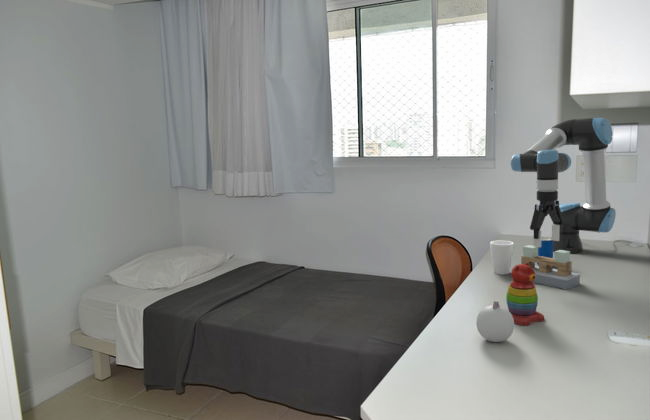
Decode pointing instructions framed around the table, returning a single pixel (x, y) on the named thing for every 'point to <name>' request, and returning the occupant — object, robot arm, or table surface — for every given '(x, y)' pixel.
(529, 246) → the block
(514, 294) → the stacking bear
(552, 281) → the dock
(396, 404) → the table surface
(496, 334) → the ornament
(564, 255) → the block
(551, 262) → the tan wooden bar
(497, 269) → the foam cup
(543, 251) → the beverage can
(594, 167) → the robot arm
